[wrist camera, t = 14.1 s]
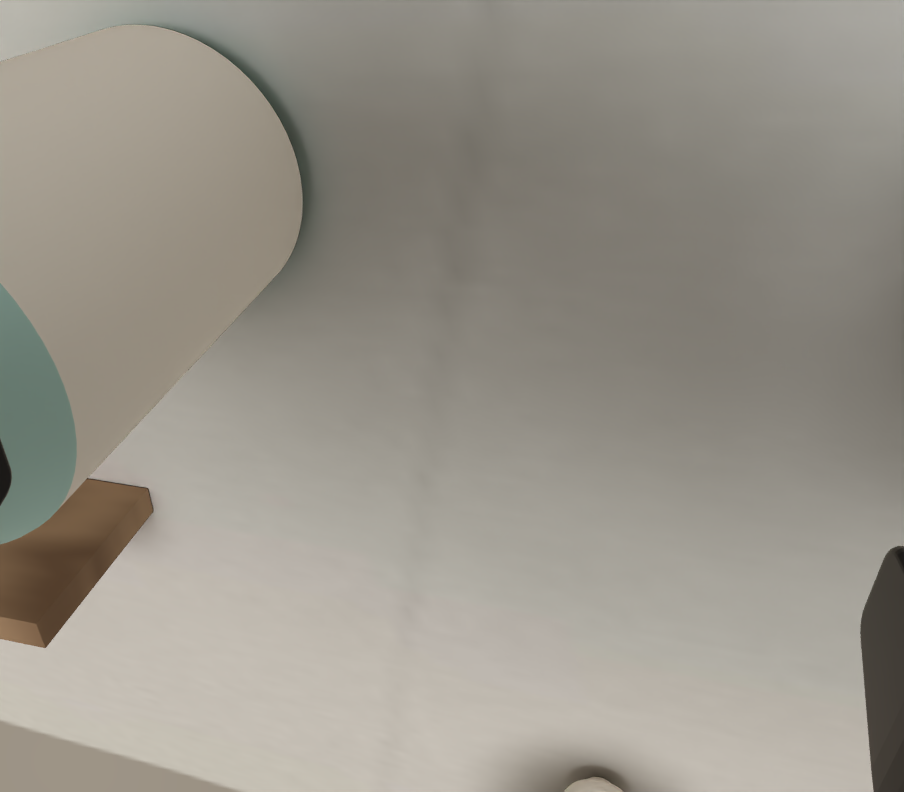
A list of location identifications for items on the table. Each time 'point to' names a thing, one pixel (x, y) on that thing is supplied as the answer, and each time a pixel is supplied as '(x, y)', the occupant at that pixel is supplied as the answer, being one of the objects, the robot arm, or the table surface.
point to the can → (123, 240)
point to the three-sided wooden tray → (66, 558)
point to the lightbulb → (592, 786)
